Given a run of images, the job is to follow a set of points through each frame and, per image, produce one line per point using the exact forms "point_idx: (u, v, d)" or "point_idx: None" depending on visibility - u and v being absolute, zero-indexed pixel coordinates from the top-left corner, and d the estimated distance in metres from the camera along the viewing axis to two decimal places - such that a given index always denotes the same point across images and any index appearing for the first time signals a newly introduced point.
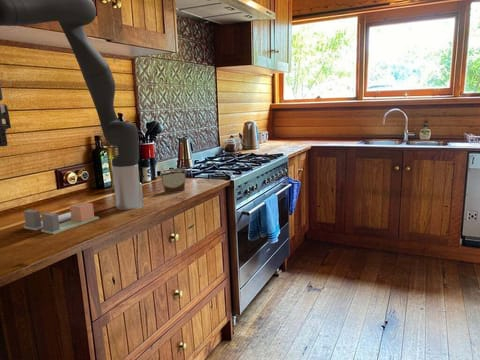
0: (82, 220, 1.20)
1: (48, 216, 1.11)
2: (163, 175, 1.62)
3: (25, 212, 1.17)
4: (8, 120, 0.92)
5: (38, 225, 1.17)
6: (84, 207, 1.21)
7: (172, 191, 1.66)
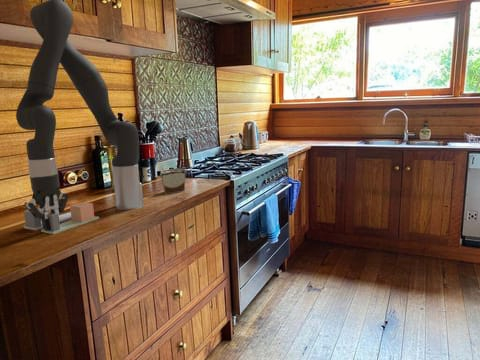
0: (82, 220, 1.20)
1: None
2: (163, 175, 1.62)
3: (25, 212, 1.17)
4: (60, 205, 1.17)
5: (38, 225, 1.17)
6: (84, 207, 1.21)
7: (172, 191, 1.66)
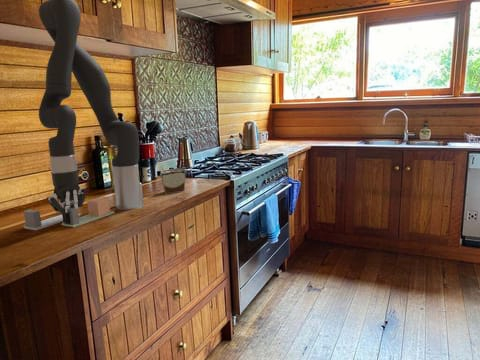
0: (99, 214, 1.26)
1: None
2: (163, 175, 1.62)
3: (25, 212, 1.17)
4: (79, 200, 1.23)
5: (38, 225, 1.17)
6: (101, 202, 1.27)
7: (172, 191, 1.66)
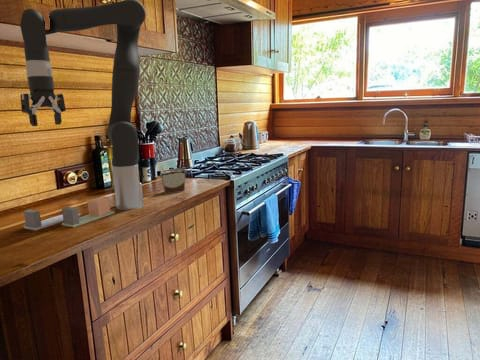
0: (99, 214, 1.26)
1: (68, 210, 1.17)
2: (163, 175, 1.62)
3: (25, 212, 1.17)
4: None
5: (38, 225, 1.17)
6: (101, 202, 1.27)
7: (172, 191, 1.66)
